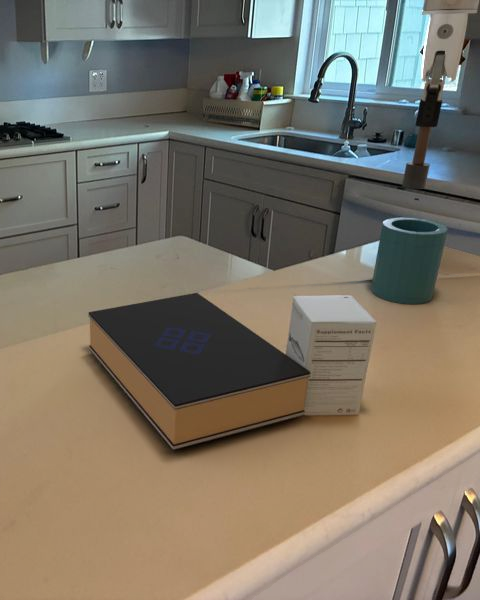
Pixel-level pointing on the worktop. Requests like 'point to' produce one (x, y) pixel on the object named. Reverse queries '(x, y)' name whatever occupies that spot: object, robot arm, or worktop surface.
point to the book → (196, 369)
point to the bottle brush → (418, 162)
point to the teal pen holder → (408, 260)
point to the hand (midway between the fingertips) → (426, 124)
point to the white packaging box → (331, 351)
